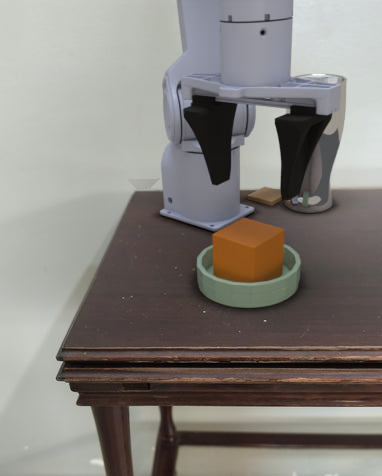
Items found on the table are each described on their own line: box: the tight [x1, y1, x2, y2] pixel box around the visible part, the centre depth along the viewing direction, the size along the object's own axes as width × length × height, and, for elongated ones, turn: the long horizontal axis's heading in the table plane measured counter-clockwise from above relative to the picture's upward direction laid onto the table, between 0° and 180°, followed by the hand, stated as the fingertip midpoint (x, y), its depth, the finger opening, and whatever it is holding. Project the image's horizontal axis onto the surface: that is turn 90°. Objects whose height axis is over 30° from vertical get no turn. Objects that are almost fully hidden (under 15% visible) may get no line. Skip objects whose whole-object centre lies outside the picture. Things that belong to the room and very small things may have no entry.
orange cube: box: [211, 217, 286, 283], centre depth 57 cm, size 5×5×5 cm
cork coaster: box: [246, 186, 284, 207], centre depth 76 cm, size 4×4×1 cm
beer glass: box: [284, 73, 348, 214], centre depth 70 cm, size 7×7×15 cm
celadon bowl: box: [196, 243, 302, 309], centre depth 58 cm, size 10×10×2 cm
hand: (254, 189), depth 52 cm, fingers open, 7 cm apart
